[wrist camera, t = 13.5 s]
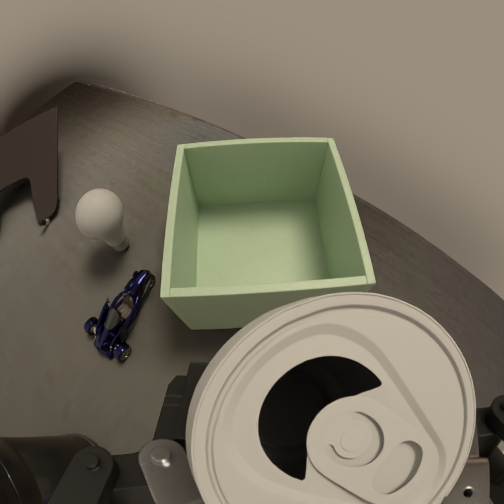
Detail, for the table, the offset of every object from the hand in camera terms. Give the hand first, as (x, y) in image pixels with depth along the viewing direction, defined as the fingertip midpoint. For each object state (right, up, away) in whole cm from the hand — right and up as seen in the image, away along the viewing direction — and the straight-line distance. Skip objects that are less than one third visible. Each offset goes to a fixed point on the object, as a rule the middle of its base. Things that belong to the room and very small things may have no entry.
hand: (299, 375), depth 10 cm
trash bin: (-1, +4, +27) cm, 27 cm away
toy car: (-17, -3, +24) cm, 29 cm away
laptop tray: (-46, +15, +34) cm, 60 cm away
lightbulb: (-20, +5, +28) cm, 35 cm away
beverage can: (0, -4, +5) cm, 6 cm away
